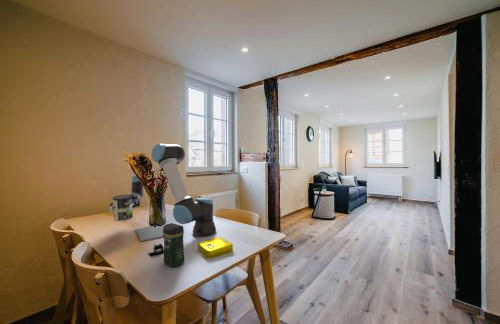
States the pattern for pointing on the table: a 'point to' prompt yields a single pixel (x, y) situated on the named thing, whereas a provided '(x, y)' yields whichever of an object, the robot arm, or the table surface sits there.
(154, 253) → the dark grey angular piece
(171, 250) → the coffee jar
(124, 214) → the coffee can
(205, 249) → the element tile
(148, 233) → the rubber mat
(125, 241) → the table surface
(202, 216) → the robot arm
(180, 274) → the table surface
